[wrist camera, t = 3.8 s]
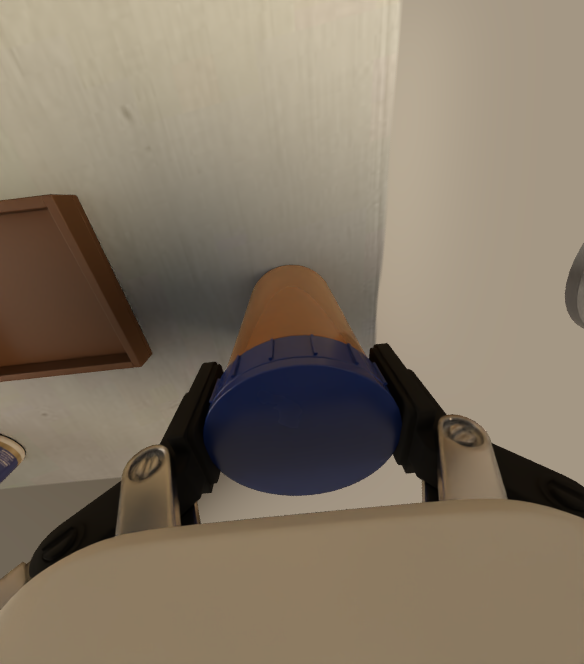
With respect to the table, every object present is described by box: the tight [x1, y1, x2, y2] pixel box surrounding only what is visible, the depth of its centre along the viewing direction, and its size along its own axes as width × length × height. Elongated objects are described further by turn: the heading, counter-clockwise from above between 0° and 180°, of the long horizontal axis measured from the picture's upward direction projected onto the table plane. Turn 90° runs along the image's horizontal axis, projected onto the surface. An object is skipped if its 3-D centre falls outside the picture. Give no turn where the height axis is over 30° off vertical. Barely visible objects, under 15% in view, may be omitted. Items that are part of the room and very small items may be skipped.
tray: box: [0, 194, 152, 382], centre depth 17 cm, size 14×12×2 cm
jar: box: [227, 265, 366, 368], centre depth 14 cm, size 7×7×12 cm
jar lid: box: [203, 334, 402, 496], centre depth 9 cm, size 7×7×2 cm
